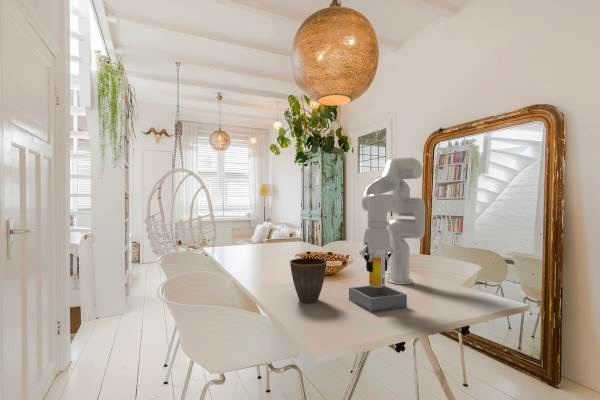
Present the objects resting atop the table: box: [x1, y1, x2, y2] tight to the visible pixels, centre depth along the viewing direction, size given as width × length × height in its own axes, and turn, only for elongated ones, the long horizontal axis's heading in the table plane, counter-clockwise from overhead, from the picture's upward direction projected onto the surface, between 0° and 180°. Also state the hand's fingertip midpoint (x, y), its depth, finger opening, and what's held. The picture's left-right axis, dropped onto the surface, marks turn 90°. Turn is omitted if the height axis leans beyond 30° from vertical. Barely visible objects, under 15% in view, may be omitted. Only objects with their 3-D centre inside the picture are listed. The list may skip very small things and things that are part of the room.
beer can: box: [368, 249, 386, 288], centre depth 126 cm, size 6×6×15 cm
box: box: [348, 284, 408, 314], centre depth 126 cm, size 16×16×5 cm
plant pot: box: [289, 257, 328, 304], centre depth 129 cm, size 15×15×16 cm
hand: (376, 270), depth 126 cm, fingers closed on beer can, 6 cm apart
